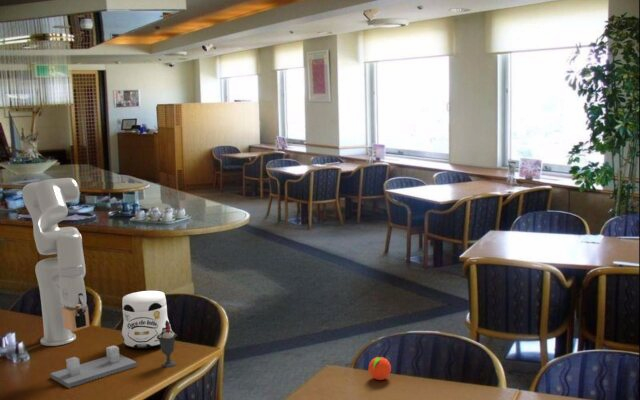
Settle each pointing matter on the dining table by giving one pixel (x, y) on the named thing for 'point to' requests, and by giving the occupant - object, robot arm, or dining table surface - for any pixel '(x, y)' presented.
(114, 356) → the post far
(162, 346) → the sundae
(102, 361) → the slate board
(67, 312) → the peach wooden block
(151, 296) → the milk container
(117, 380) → the dining table surface
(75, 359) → the post near
